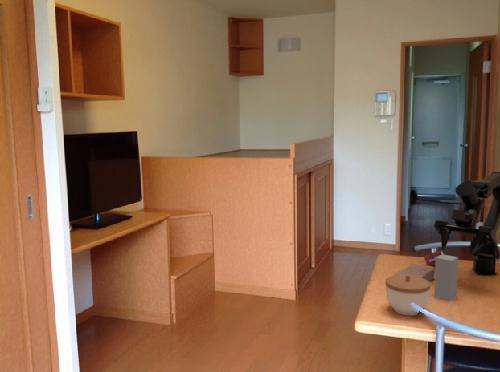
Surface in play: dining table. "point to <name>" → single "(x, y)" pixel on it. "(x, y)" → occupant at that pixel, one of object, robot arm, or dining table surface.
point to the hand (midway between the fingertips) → (456, 252)
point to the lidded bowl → (407, 293)
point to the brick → (418, 271)
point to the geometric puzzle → (432, 257)
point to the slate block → (446, 277)
